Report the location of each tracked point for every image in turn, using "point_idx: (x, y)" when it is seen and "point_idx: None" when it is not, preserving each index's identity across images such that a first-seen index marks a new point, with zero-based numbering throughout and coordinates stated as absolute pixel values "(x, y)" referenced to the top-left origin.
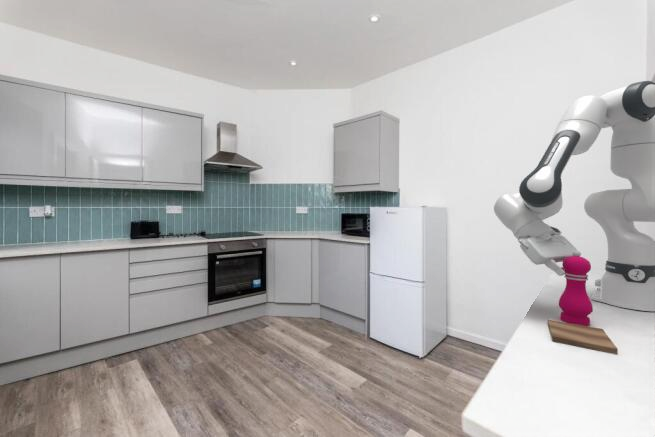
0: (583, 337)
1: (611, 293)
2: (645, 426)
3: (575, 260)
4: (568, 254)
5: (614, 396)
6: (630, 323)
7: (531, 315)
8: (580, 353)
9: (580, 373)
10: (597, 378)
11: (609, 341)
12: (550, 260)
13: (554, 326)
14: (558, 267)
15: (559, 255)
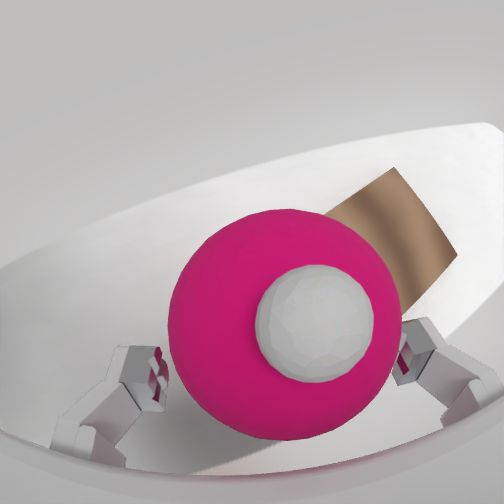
0: (406, 223)
1: None
2: (488, 124)
3: (391, 279)
4: (161, 484)
5: (482, 144)
6: (109, 252)
7: None
8: (445, 205)
9: (484, 179)
10: (475, 164)
11: (371, 188)
12: (502, 386)
13: (407, 295)
14: (450, 348)
15: (405, 453)
